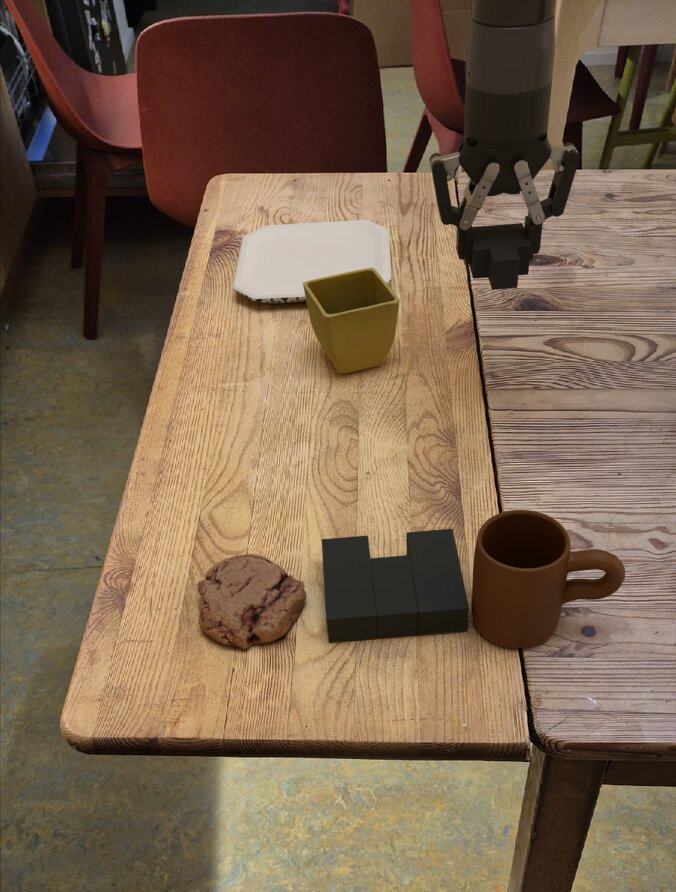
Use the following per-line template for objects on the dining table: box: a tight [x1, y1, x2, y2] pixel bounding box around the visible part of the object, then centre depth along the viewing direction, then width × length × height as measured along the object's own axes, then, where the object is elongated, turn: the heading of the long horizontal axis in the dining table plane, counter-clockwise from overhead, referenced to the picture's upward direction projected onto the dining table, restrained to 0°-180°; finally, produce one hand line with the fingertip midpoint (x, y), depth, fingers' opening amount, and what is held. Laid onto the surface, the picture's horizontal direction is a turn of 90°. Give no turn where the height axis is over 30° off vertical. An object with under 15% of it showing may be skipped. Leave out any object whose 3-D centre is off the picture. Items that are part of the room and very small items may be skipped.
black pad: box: [468, 222, 531, 291], centre depth 92 cm, size 6×8×3 cm
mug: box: [471, 509, 626, 649], centre depth 76 cm, size 12×8×9 cm, turn 73°
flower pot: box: [303, 268, 401, 375], centre depth 107 cm, size 9×9×9 cm
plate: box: [232, 219, 392, 305], centre depth 125 cm, size 21×21×2 cm
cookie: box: [197, 553, 307, 650], centre depth 82 cm, size 10×11×3 cm
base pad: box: [321, 528, 470, 644], centre depth 82 cm, size 12×10×3 cm
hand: (497, 258), depth 93 cm, fingers closed on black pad, 5 cm apart
